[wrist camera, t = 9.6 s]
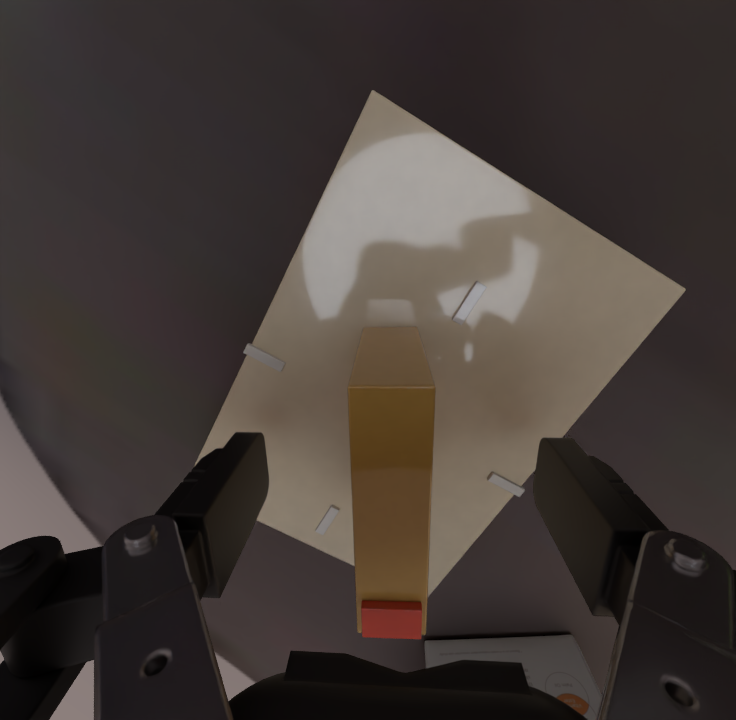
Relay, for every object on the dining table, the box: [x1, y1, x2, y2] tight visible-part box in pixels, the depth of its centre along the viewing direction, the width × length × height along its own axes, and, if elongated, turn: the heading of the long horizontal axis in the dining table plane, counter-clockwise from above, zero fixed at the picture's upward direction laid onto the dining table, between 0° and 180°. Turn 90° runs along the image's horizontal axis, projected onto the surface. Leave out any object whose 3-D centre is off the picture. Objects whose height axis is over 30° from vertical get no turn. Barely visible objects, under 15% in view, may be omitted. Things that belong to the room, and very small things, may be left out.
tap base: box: [193, 90, 686, 596], centre depth 15 cm, size 15×11×3 cm
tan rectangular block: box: [347, 327, 436, 639], centre depth 11 cm, size 7×2×5 cm, turn 1°
